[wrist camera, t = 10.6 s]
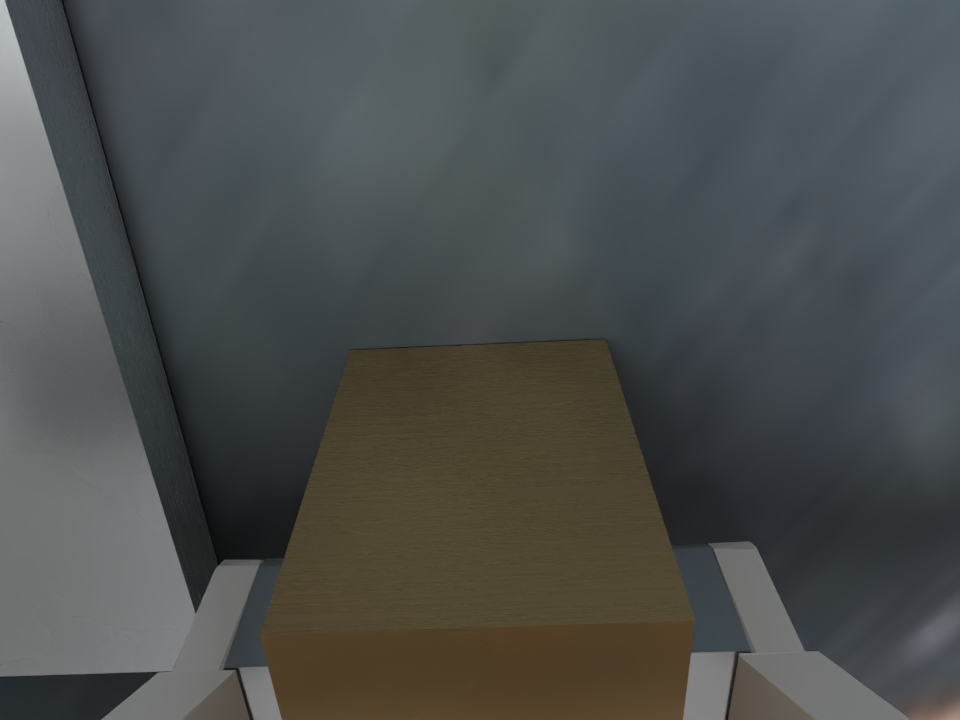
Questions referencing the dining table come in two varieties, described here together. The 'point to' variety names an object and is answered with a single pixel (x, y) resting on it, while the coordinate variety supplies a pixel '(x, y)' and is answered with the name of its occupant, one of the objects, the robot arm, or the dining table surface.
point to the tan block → (479, 547)
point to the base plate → (81, 394)
